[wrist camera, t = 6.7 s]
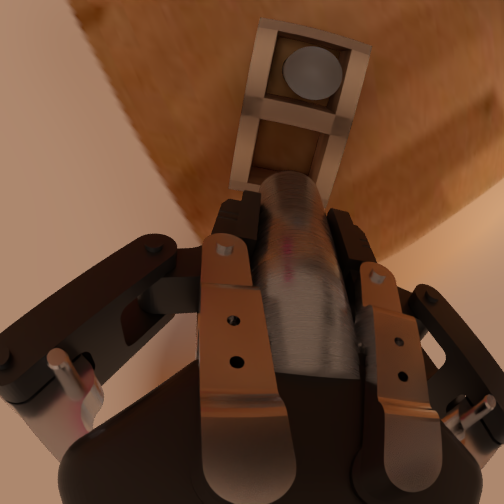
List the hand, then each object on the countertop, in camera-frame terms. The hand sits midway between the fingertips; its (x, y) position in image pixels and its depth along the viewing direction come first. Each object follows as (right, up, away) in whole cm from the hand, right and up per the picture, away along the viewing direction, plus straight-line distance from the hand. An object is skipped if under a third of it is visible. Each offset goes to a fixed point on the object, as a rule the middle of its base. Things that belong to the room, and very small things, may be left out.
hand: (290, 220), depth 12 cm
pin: (0, +1, +2) cm, 2 cm away
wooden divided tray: (+2, +9, +8) cm, 12 cm away
